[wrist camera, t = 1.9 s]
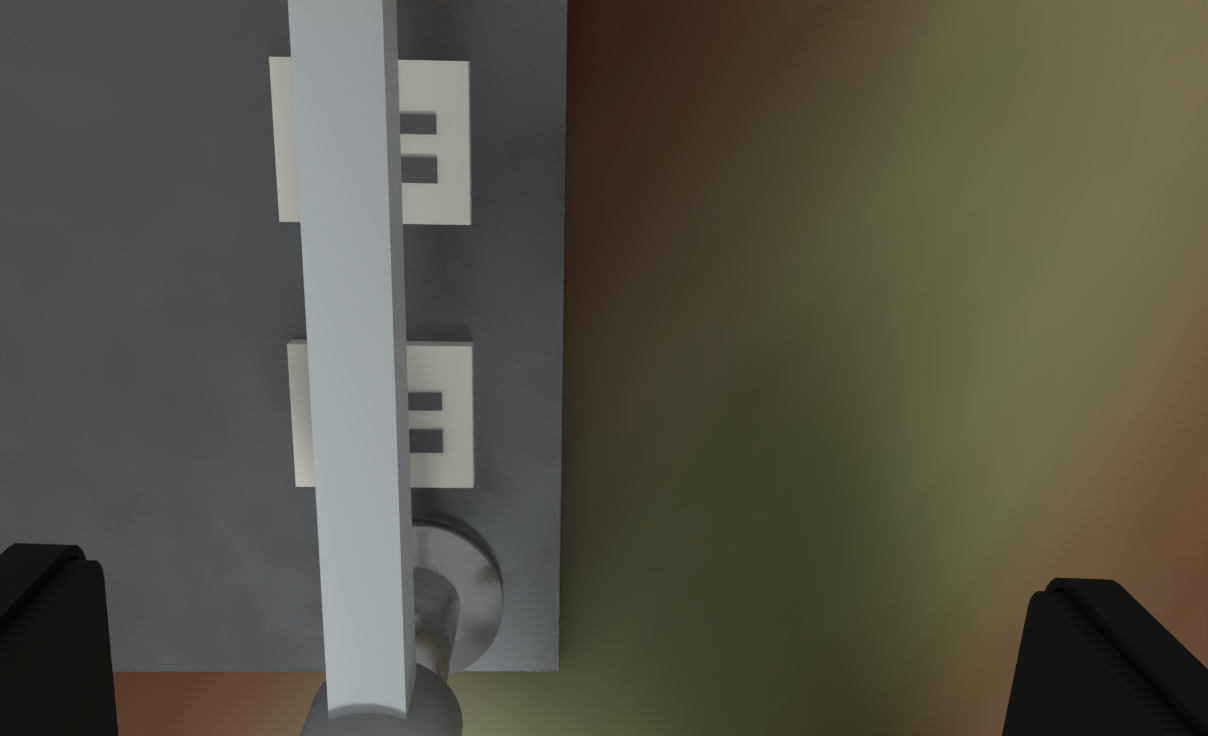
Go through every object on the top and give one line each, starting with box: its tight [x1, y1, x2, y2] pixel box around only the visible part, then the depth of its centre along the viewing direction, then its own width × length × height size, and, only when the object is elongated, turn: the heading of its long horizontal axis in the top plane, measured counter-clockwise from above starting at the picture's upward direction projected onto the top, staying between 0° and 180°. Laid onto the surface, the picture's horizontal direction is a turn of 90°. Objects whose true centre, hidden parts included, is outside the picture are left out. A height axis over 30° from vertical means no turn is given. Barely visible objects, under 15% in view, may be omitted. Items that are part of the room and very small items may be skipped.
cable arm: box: [288, 0, 463, 736], centre depth 26 cm, size 24×4×3 cm, turn 179°
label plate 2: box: [287, 340, 475, 488], centre depth 35 cm, size 6×5×1 cm
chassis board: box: [0, 0, 567, 672], centre depth 35 cm, size 20×24×1 cm
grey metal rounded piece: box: [412, 521, 504, 683], centre depth 34 cm, size 6×6×7 cm
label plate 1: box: [269, 57, 472, 225], centre depth 33 cm, size 6×5×1 cm
